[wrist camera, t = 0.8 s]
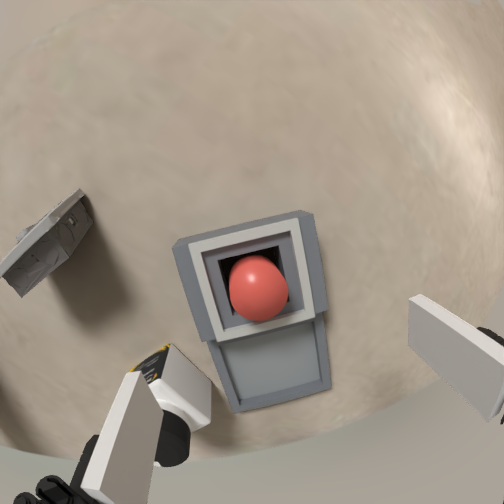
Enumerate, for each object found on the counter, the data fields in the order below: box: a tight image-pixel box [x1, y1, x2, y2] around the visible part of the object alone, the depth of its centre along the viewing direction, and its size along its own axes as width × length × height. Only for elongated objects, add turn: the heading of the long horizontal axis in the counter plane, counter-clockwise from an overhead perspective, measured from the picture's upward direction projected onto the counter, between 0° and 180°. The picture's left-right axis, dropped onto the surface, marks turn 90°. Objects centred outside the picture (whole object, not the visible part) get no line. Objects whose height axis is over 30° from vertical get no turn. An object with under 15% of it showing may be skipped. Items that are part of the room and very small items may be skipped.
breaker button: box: [229, 254, 288, 321], centre depth 23 cm, size 4×4×4 cm
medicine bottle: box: [129, 343, 212, 467], centre depth 24 cm, size 7×7×12 cm
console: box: [172, 210, 331, 413], centre depth 27 cm, size 12×21×5 cm, turn 13°
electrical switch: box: [0, 189, 93, 298], centre depth 21 cm, size 9×5×9 cm, turn 119°
